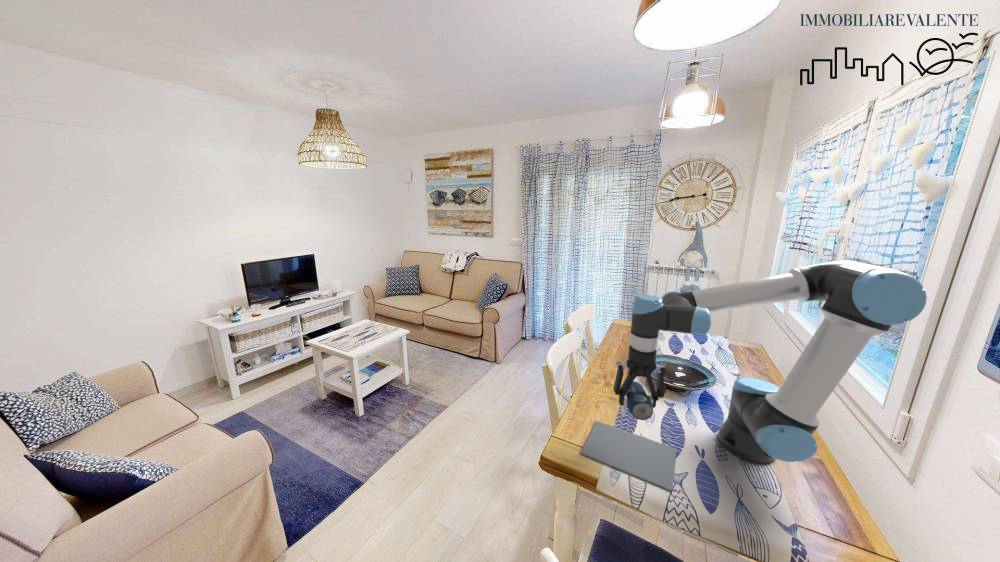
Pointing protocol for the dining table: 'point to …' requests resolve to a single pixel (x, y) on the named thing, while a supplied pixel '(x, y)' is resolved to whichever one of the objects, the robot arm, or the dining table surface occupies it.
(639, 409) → the soda can
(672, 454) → the mat
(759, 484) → the dining table surface
